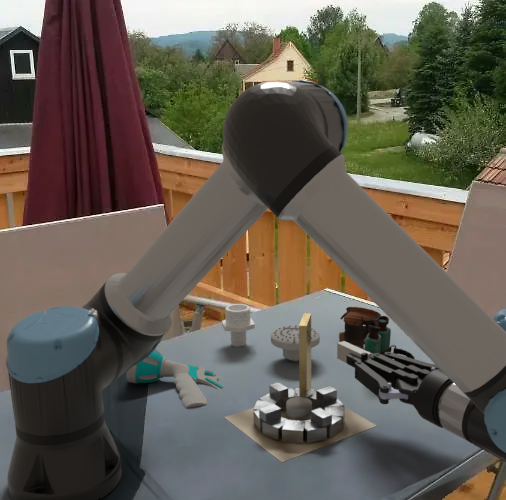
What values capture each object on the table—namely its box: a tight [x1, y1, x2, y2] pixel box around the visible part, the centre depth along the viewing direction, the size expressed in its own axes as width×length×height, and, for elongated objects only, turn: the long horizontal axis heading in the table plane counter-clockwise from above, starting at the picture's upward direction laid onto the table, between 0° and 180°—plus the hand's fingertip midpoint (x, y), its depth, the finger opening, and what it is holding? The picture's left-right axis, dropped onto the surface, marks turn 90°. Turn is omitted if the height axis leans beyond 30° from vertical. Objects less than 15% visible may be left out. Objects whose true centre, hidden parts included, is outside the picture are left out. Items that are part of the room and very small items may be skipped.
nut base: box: [223, 388, 378, 463], centre depth 104 cm, size 18×16×4 cm
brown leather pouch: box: [338, 306, 382, 348], centre depth 140 cm, size 12×10×8 cm
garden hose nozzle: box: [125, 349, 224, 409], centre depth 119 cm, size 7×18×20 cm
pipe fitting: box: [221, 303, 255, 348], centre depth 139 cm, size 6×7×8 cm
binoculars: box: [363, 315, 416, 359], centre depth 121 cm, size 9×11×10 cm
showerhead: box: [270, 324, 321, 362], centre depth 127 cm, size 9×7×10 cm
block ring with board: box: [253, 312, 345, 443], centre depth 104 cm, size 18×14×14 cm
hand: (340, 349), depth 109 cm, fingers closed
